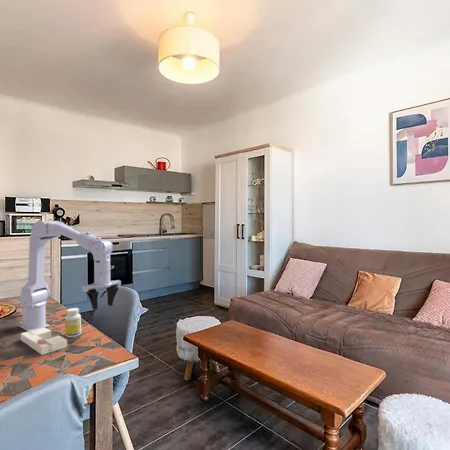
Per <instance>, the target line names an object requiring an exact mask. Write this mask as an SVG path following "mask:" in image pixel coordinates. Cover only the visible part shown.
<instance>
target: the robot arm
mask: <svg viewBox="0 0 450 450" xmlns="http://www.w3.org/2000/svg"><path fill="white" fill-rule="evenodd" d="M30 231H31V233H30V235H29V244H28V245H29V249H28V252H29V253H28V275H27V276H28V279H27V283H26V284H25V285H24V286H22V287H21V291H20V292H21V293H20V295H19V298H18V300H19V303H20V305H21V306H22V311H21V312H22V315H21V316H22V323H21V324H20V325H19V327H20V328H22V329H23V330H25V332H28V331H32V330H36V329H40V328H44V327H45V328H49V327H51V326H50V324H49V323H46V319H47V318H46V317H47V316H46V310H47V309H46V304H48V302H47V301H49V300H50V296H51V293H50V290H49V284H48V283H47V282H45V262H46V261H45V260H46V254H45V253H46V243H48V242H49V241H50V240H52V239H53V238H56V237H59V236H64V237H67V238H69V239H70V240H74V241H76V244H77V245H78V246H80V247H82V248H84V250H87V251H90V252H91V253H90V254H92V256H93V265H94V266H93V268H94V269H93V273H94V274H93V277H94V278H93V280H94V281H93V283H91V284H86V285H82V292H84V293H86V296H87V297H88V298H89V300H90V304H91V307H92V310H95V311H97V310H98V297H99V293H100V292H99V291H97V290H101V289H106V293H107V294H106V295H107V306H110V307H112V306H113V305H114V300H115V298H116V294H117V292H118V290H119V287H120V286H121V285H122V281H121V280H120V279H116V280H111V254H112V252H113V250H114V244H113V242H112V241H111V240H110V239H108V238H107V239H106V238H105V239H102V238H101V237H100V236H95V235H93V234H92V232H90V231H83V232H80V231H78V230H76V229H74V228H72V227H71V226H69V225H67V224H65V222H62V221H59V220H49V221H48V220H46V221H45V220H37V221H36V222H34V223H33V224H32V225H31V229H30Z"/></svg>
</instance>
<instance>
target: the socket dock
mask: <svg viewBox="0 0 450 450" xmlns="http://www.w3.org/2000/svg"><path fill="white" fill-rule="evenodd" d="M20 341H22V342H23V343H24V344H26V345H27V346H29V348H31V349H33V350H34V351H36V352H37V353H38V354H40V355H41V356H43V355H46V354H50V353H53V352H56V351H59V350H61V349H64V348H67V347H68V339H66V338H65V337H63V336H61V335H57V336H53V337H52V330H50V329H49V328H48V327H44V328H40V329H36V330H32V331H25V332H21V333H20Z"/></svg>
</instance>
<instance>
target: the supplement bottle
mask: <svg viewBox="0 0 450 450" xmlns="http://www.w3.org/2000/svg"><path fill="white" fill-rule="evenodd" d="M79 312H80V309H79V308H78V307H71V308H68V309H67V310H66V314H67V315H66V316H65V317H64V320H65V321H64V322H65V323H64V324H65V328H64V329H65V337H66V338H75V337H79V336H80V335H81V334H82V316H81V314H80V313H79Z"/></svg>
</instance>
